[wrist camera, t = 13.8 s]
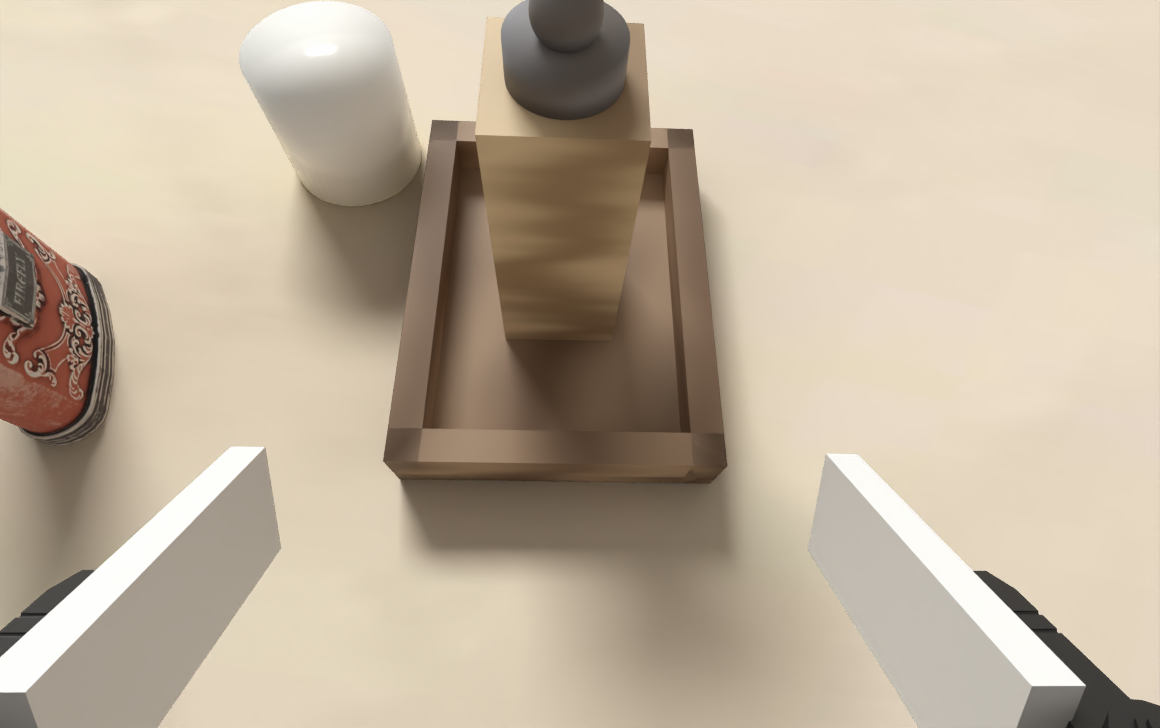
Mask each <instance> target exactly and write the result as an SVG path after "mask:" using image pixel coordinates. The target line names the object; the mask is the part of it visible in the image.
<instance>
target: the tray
mask: <svg viewBox="0 0 1160 728" xmlns="http://www.w3.org/2000/svg"><path fill="white" fill-rule="evenodd" d="M475 129H476V122H470V121H442V120H432V126H431V133H430V140H429V147H428V154H427V161H426V167H425V174H424V181H423V188H422V195H421V202H420V209H419V216H418V223H417V230H416V237H415V244H414V251H413V258H412V265H411V272H410V278H409V285H408V292H407V299H406V306H405V313H404V320H403V327H402V334H401V341H400V348H399V355H398V362H397V369H396V376H395V383H394V389H393V396H392V403H391V410H390V417H389V424H388V431H387V438H386V445H385V452H384V459H383V461H384V462H385V464H386V465H387V466H388V467H389V468H390V469H391V470H392V471H393V472H394V473H395V474H396V476H397V477H398V478H399V479H434V480H510V481H586V482H662V483H711V482H712V481H713V480H714V479H715V478H716V477H717V476H718V475H719V474H720V473H721V472H722V471H723V470H724V469H725V468H726V467H727V459H726V449H725V440H724V430H723V420H722V411H721V401H720V391H719V381H718V372H717V362H716V352H715V343H714V333H713V323H712V313H711V304H710V294H709V284H708V274H707V265H706V255H705V245H704V236H703V226H702V216H701V206H700V197H699V187H698V177H697V168H696V158H695V148H694V138H693V129H667V128H651V145H650V150H649V155H648V160H647V165H646V170H645V175H644V180H643V186H642V191H641V196H640V201H639V206H638V211H637V216H636V221H635V226H634V231H633V236H632V241H631V246H630V251H629V256H628V261H627V266H626V271H625V276H624V281H623V286H622V291H621V296H620V301H619V306H618V311H617V316H616V321H615V326H614V331H613V336H612V341H587V340H541V339H505V332H504V326H503V319H502V312H501V306H500V299H499V292H498V286H497V279H496V272H495V266H494V259H493V252H492V246H491V239H490V232H489V225H488V219H487V212H486V205H485V199H484V192H483V185H482V179H481V172H480V165H479V159H478V152H477V145H476V139H475Z"/></svg>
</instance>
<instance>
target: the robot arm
mask: <svg viewBox="0 0 1160 728" xmlns="http://www.w3.org/2000/svg"><path fill="white" fill-rule="evenodd" d="M280 549H281V544H280V538H279V531H278V525H277V519H276V512H275V506H274V500H273V493H272V487H271V481H270V474H269V468H268V462H267V455H266V449H265V447H230V448H229V449H228V450H227V451H226V452H225V453H223V454H222V455H221V456H220V457H219V458H218V459H217V460H216V461H215V462H214V463H213V464H211V465H210V466H209V467H208V468H207V469H206V470H205V471H204V472H203V473H202V474H200V475H199V476H198V477H197V478H196V479H195V480H194V481H193V482H192V483H191V484H190V485H188V486H187V487H186V488H185V489H184V490H183V491H182V492H181V493H180V494H179V495H177V496H176V497H175V498H174V499H173V500H172V501H171V502H170V503H169V504H168V505H167V506H165V507H164V508H163V509H162V510H161V511H160V512H159V513H158V514H157V515H156V516H154V517H153V518H152V519H151V520H150V521H149V522H148V523H147V524H146V525H145V526H144V527H142V528H141V529H140V530H139V531H138V532H137V533H136V534H135V535H134V536H133V537H131V538H130V539H129V540H128V541H127V542H126V543H125V544H124V545H123V546H122V547H121V548H119V549H118V550H117V551H116V552H115V553H114V554H113V555H112V556H111V557H110V558H108V559H107V560H106V561H105V562H104V563H103V564H102V565H101V566H100V567H99V568H98V569H96V570H82V571H80V572H78V573H77V574H75V575H73V576H71V577H70V578H68V579H66V580H64V581H63V582H61V583H59V584H57V585H56V586H54V587H52V588H50V589H49V590H47V591H46V592H45V593H44V594H43V595H41V596H40V597H39V598H38V599H37V600H36V601H34V602H33V603H32V604H31V605H30V606H29V607H27V608H26V609H25V610H24V611H23V612H22V613H21V616H20V618H15V619H14V620H12V621H11V622H10V623H9V624H8V625H7V626H6V627H4V628H3V629H2V630H1V631H0V728H157V727H158V726H159V724H160V723H161V721H162V720H163V718H164V717H165V715H166V714H167V713H168V711H169V710H170V708H171V707H172V705H173V704H174V702H175V701H176V700H177V698H178V697H179V695H180V694H181V692H182V691H183V689H184V688H185V687H186V685H187V684H188V682H189V681H190V679H191V678H192V676H193V675H194V673H195V672H196V671H197V669H198V668H199V666H200V665H201V663H202V662H203V660H204V659H205V658H206V656H207V655H208V653H209V652H210V650H211V649H212V647H213V646H214V645H215V643H216V642H217V640H218V639H219V637H220V636H221V634H222V633H223V632H224V630H225V629H226V627H227V626H228V624H229V623H230V621H231V620H232V618H233V617H234V616H235V614H236V613H237V611H238V610H239V608H240V607H241V605H242V604H243V603H244V601H245V600H246V598H247V597H248V595H249V594H250V592H251V591H252V590H253V588H254V587H255V585H256V584H257V582H258V581H259V579H260V578H261V576H262V575H263V574H264V572H265V571H266V569H267V568H268V566H269V565H270V563H271V562H272V561H273V559H274V558H275V556H276V555H277V553H278V552H279V550H280ZM808 552H809V553H810V555H811V556H812V558H813V560H814V561H815V563H816V564H817V566H818V568H819V569H820V571H821V572H822V574H823V576H824V577H825V579H826V580H827V582H828V584H829V585H830V587H831V588H832V590H833V592H834V593H835V595H836V596H837V598H838V600H839V601H840V603H841V604H842V606H843V608H844V609H845V611H846V612H847V614H848V615H849V617H850V619H851V620H852V622H853V623H854V625H855V627H856V628H857V630H858V631H859V633H860V635H861V636H862V638H863V639H864V641H865V643H866V644H867V646H868V647H869V649H870V651H871V652H872V654H873V655H874V657H875V659H876V660H877V662H878V663H879V665H880V667H881V668H882V670H883V671H884V673H885V674H886V676H887V678H888V679H889V681H890V682H891V684H892V686H893V687H894V689H895V690H896V692H897V694H898V695H899V697H900V698H901V700H902V702H903V703H904V705H905V706H906V708H907V710H908V711H909V713H910V714H911V716H912V718H913V719H914V721H915V722H916V724H917V726H918V727H919V728H1160V706H1159V705H1156V704H1152V703H1149V702H1146V701H1143V700H1133V699H1130V698H1129V697H1128V696H1127V695H1126V694H1125V693H1123V692H1122V691H1121V690H1120V689H1119V688H1118V687H1117V686H1116V685H1115V684H1114V683H1113V682H1112V681H1111V680H1110V679H1109V678H1108V677H1107V676H1106V675H1105V674H1104V673H1103V672H1102V671H1100V670H1099V669H1098V668H1097V667H1096V666H1095V665H1094V664H1093V663H1092V662H1091V661H1090V660H1089V659H1088V658H1087V657H1086V656H1085V655H1084V654H1083V653H1082V652H1081V651H1080V650H1079V649H1078V648H1076V647H1075V646H1074V645H1073V644H1072V643H1071V642H1070V641H1069V640H1068V639H1067V638H1066V637H1065V636H1064V635H1063V634H1062V633H1058V632H1057V628H1056V627H1055V626H1053V625H1052V624H1051V623H1050V622H1049V621H1048V620H1047V619H1046V618H1045V617H1044V616H1043V615H1039V614H1038V610H1037V609H1036V608H1035V607H1034V606H1033V605H1032V604H1030V603H1029V602H1028V601H1027V600H1026V599H1025V598H1024V597H1023V596H1022V595H1021V594H1020V593H1019V592H1018V591H1017V590H1016V589H1014V588H1013V587H1011V586H1010V585H1008V584H1006V583H1005V582H1003V581H1001V580H1000V579H998V578H997V577H995V576H993V575H992V574H990V573H989V572H987V571H972V570H971V569H970V568H969V567H968V566H967V565H966V564H965V563H964V562H963V561H962V560H961V559H960V558H959V557H958V556H957V555H956V554H955V553H954V552H953V551H952V550H951V549H950V548H949V546H948V545H947V544H946V543H945V542H944V541H943V540H942V539H941V538H940V537H939V536H938V535H937V534H936V533H935V532H934V531H933V530H932V529H931V528H930V527H929V526H928V525H927V524H926V523H925V522H924V521H923V520H922V519H921V518H920V517H919V516H918V515H917V514H916V513H915V512H914V511H913V510H912V509H911V508H910V507H909V506H908V505H907V504H906V503H905V502H904V501H903V500H902V499H901V498H900V497H899V496H898V495H897V494H896V493H895V492H894V491H893V490H892V489H891V488H890V487H889V486H888V485H887V484H886V483H885V482H884V481H883V480H882V479H881V478H880V477H879V476H878V475H877V474H876V473H875V472H874V471H873V470H872V469H871V468H870V467H869V466H868V465H867V464H866V462H865V461H864V460H863V459H862V458H861V457H860V456H859V455H858V454H826V456H825V462H824V467H823V472H822V477H821V483H820V488H819V493H818V499H817V504H816V509H815V514H814V520H813V525H812V530H811V536H810V541H809V546H808Z"/></svg>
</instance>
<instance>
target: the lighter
mask: <svg viewBox="0 0 1160 728" xmlns="http://www.w3.org/2000/svg"><path fill="white" fill-rule="evenodd" d="M114 349H115V341H114V334H113V328H112V321H111V315H110V310H109V307H108V304H107V301H106V298H105V295H104V292H103V289H102V286H101V284H100V282H99V281H98V280H97V278H95V277H94V276H93V275H92V274H90V273H89V272H88V271H87V270H85V269H84V268H83V267H81V266H79V265H77V264H73V263H69V262H67V261H66V260H65V259H64V258H62V257H61V256H60V255H59V254H57V253H56V252H55V251H54V250H52V249H51V248H50V247H49V246H47V245H46V244H45V243H43V242H42V241H41V240H40V239H38V238H37V237H36V236H35V235H33V234H32V233H31V232H30V231H28V230H27V229H26V228H25V227H23V226H22V225H21V224H19V223H18V222H17V221H16V220H14V219H13V218H12V217H11V216H9V215H8V214H7V213H6V212H4V211H3V210H2V209H1V208H0V419H2V420H4V421H7V422H9V423H12V424H14V425H17V426H18V427H19V428H20V430H21V432H22V433H24V434H26V435H28V436H29V437H31V438H34V439H36V440H39V441H41V442H44V443H46V444H51V445H59V446H60V445H66V444H72V443H75V442H77V441H79V440H82V439H84V438H86V437H87V436H89V435H90V434H92V433H93V432H94V431H96V430H97V429H98V427H99V426H100V425H101V424H102V423H103V421H104V420H105V417H106V415H107V412H108V407H109V401H110V395H111V389H112V383H113V378H114Z"/></svg>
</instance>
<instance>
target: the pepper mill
mask: <svg viewBox="0 0 1160 728" xmlns="http://www.w3.org/2000/svg"><path fill="white" fill-rule="evenodd" d="M475 139H476V145H477V152H478V159H479V165H480V172H481V179H482V185H483V192H484V199H485V205H486V212H487V219H488V225H489V232H490V239H491V246H492V252H493V259H494V266H495V272H496V279H497V286H498V292H499V299H500V306H501V312H502V319H503V326H504V332H505V339H541V340H587V341H612V336H613V331H614V326H615V321H616V316H617V311H618V306H619V301H620V296H621V291H622V286H623V281H624V276H625V271H626V266H627V261H628V256H629V251H630V246H631V241H632V236H633V231H634V226H635V221H636V216H637V211H638V206H639V201H640V196H641V191H642V186H643V180H644V175H645V170H646V165H647V160H648V155H649V150H650V145H651V127H650V112H649V96H648V80H647V65H646V49H645V33H644V24H638V23H626V22H625V20H624V19H623V17H622V16H621V15H620V14H619V13H618V12H617V11H616V10H615V9H614V8H612V7H611V6H610V5H608V4H606V3H605V2H603V0H525V1H523V2H521V3H520V4H518V5H517V6H516V7H514V8H513V9H512V10H511V11H510V12H509V13H508V15H507V16H506V18H496V17H487V21H486V31H485V41H484V51H483V60H482V70H481V80H480V90H479V100H478V110H477V119H476V129H475Z"/></svg>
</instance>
